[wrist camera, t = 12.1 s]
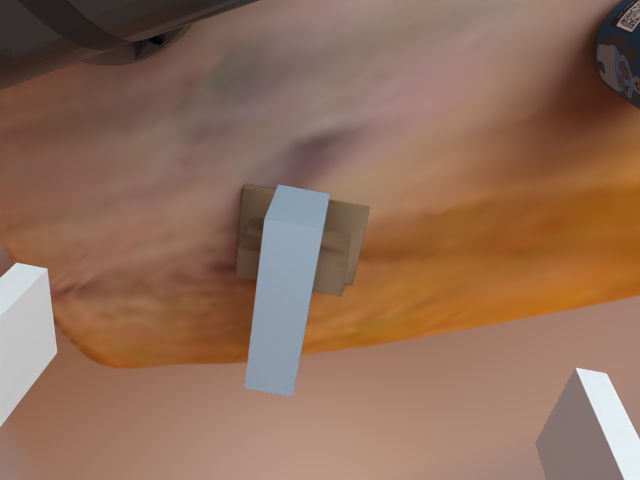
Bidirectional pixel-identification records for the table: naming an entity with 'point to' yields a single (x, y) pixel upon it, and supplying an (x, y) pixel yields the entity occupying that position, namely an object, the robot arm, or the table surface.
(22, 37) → the robot arm
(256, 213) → the ridge stand
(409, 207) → the table surface
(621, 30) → the soda can
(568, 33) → the table surface
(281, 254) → the bar
